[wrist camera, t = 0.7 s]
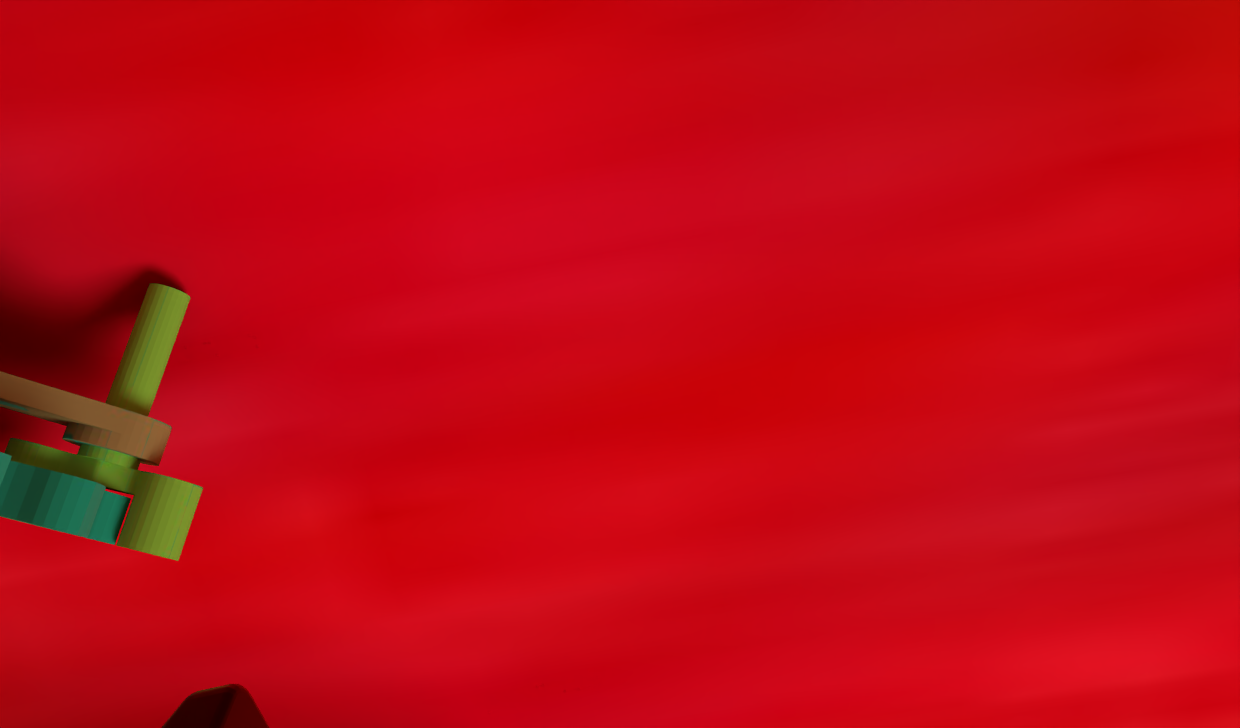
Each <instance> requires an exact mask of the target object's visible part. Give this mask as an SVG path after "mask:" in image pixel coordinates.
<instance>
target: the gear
mask: <svg viewBox="0 0 1240 728" xmlns="http://www.w3.org/2000/svg"><path fill="white" fill-rule="evenodd" d="M189 300H190V296H189V295H187V294H186V293H184V292H182V291H180V290H177V289H175V288H172V287H169V286H165V285H161V284H156V283H151V284H149V287H148V289H147V292H146V295H145V297H144V300H143V303H142V306H141V308H140V311H139V314H138V316H137V319H136V322H135V324H134V327H133V330H132V333H131V335H130V338H129V341H128V343H127V346H126V349H125V352H124V354H123V357H122V360H121V362H120V365H119V368H118V370H117V373H116V376H115V379H114V381H113V384H112V387H111V389H110V392H109V395H108V398H107V400H106V403H102V402H99V401H96V400H93V399H89V398H86V397H83V396H79V395H76V394H73V393H70V392H66V391H63V390H60V389H57V388H53V387H50V386H47V385H43V384H40V383H37V382H34V381H30V380H27V379H24V378H21V377H17V376H14V375H11V374H8V373H4V372H1V371H0V407H4V408H7V409H11V410H14V411H17V412H21V413H24V414H28V415H31V416H34V417H38V418H41V419H45V420H48V421H52V422H55V423H58V424H62V425H65V426H67V427H66V430H65V433H64V435H63V438H62V439H63V440H65V441H67V442H70V443H73V444H75V445H78V446H80V449H79V451H78V454H77V455H76V454H71V453H68V452H64V451H61V450H57V449H54V448H51V447H47V446H44V445H40V444H36V443H33V442H29V441H25V440H20V439H16V438H10V440H9V442H8V445H7V447H6V450H5V453H2V452H0V516H1V517H5V518H9V519H13V520H17V521H21V522H25V523H29V524H33V525H37V526H41V527H45V528H49V529H53V530H57V531H61V532H65V533H69V534H73V535H77V536H81V537H85V538H89V539H93V540H97V541H101V542H105V543H109V544H113V545H115V542H116V539H117V536H118V534H119V531H120V528H121V525H122V522H123V520H124V517H125V514H126V511H127V508H128V505H129V503H130V500H131V498H128V497H125V496H121V495H118V494H114V493H111V492H107V491H105V489H109V490H114V491H118V492H122V493H126V494H131V495H134V497H133V500H132V503H131V506H130V509H129V511H128V514H127V517H126V520H125V523H124V526H123V528H122V531H121V534H120V537H119V540H118V542H117V546H121V547H125V548H129V549H133V550H137V551H141V552H145V553H149V554H153V555H157V556H161V557H165V558H169V559H173V560H177V561H178V560H179V557H180V554H181V551H182V548H183V545H184V542H185V539H186V536H187V534H188V531H189V528H190V525H191V522H192V519H193V516H194V513H195V510H196V507H197V504H198V501H199V498H200V495H201V492H202V489H203V488H202V487H200V486H198V485H195V484H192V483H188V482H185V481H182V480H178V479H175V478H171V477H167V476H163V475H159V474H155V473H150V472H144V471H139V470H138V467H139V464H140V463H143V464H148V465H154V466H159V464H160V461H161V458H162V455H163V452H164V449H165V447H166V444H167V441H168V438H169V435H170V432H171V429H172V427H171V426H169V425H167V424H165V423H163V422H161V421H158V420H155V419H153V418H150V417H148V415H149V412H150V409H151V406H152V403H153V401H154V398H155V395H156V392H157V390H158V387H159V384H160V381H161V378H162V376H163V373H164V370H165V367H166V364H167V362H168V359H169V356H170V353H171V350H172V348H173V345H174V342H175V339H176V337H177V334H178V331H179V328H180V325H181V323H182V320H183V317H184V314H185V311H186V309H187V306H188V303H189Z"/></svg>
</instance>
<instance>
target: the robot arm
mask: <svg viewBox="0 0 1240 728" xmlns="http://www.w3.org/2000/svg"><path fill="white" fill-rule="evenodd" d="M162 728H269V726H268V724H267V723H266V721H265V719H264V717H263V716H262V714H261V712H260V710H259V709H258V707H257V705H256V703H255V702H254V700H253V698H252V696H251V695H250V693H249V692H248V691H247V689H246V688H244V687H243V686H241V685H239V684H229V685H224V686H219V687H215V688H210V689H206V690H201V691H197V692H195V693H193V694H191V695H190V696H188V697H187V698H186V699H185V700H184V701H183V702H182V703H181V705H180V706H179V707H178V708H177V709H176V711H175V712H174V713H173V714H172V716H171V717H170V718H169V719H168V720H167V722H166V723H165V724H164V725H163V726H162Z"/></svg>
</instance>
